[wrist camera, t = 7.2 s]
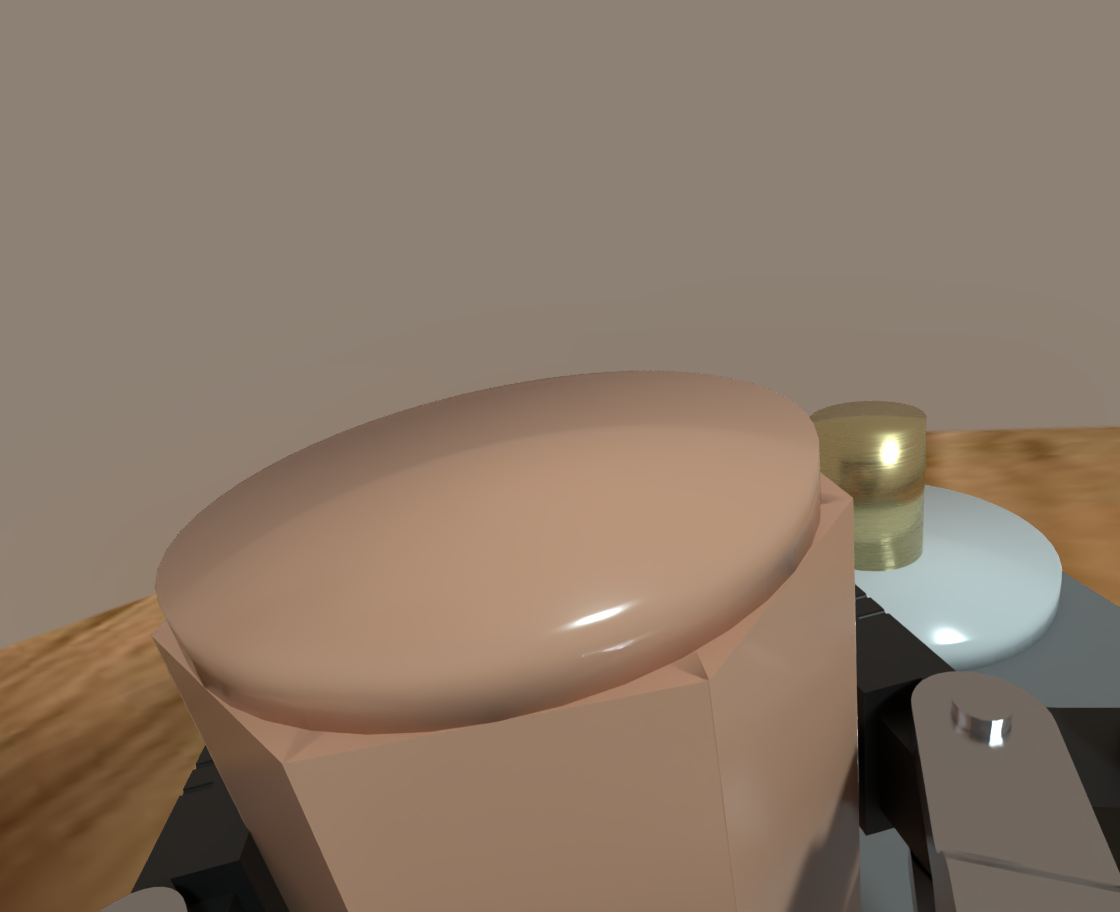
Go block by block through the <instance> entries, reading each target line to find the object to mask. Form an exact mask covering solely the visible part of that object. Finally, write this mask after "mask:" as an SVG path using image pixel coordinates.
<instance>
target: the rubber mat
mask: <svg viewBox="0 0 1120 912" xmlns="http://www.w3.org/2000/svg"><path fill="white" fill-rule="evenodd" d="M963 672H974V673H981V674H985V675H989V676H993V677H996V678H999V679H1002V680H1005V681H1007V682H1009V683H1012V684H1014V685H1016V686H1018V687H1020V688H1022V689H1023V690H1025V691H1027V692H1028V693H1030V694H1031V695H1033V696H1034V697H1035V698H1037V699H1038V700H1039V701H1040V702H1041V703H1042V704H1043V705H1044V706H1045V707H1056V708H1120V607H1118V606H1117V605H1115V604H1113V603H1112V602H1110V601H1109V600H1107V599H1105V598H1104V597H1102V596H1100V595H1099V594H1097V593H1096V592H1094V591H1092V590H1091V589H1089V588H1088V587H1086V586H1084V585H1083V584H1081V583H1080V582H1078V581H1076V580H1075V579H1073V578H1072V577H1070V576H1068V575H1067V574H1065V573H1064V572H1062V581H1061V589H1060V598H1059V606H1058V612H1057V615H1056V618H1055V620H1054V623H1053V625H1052V626H1051V627H1050V629H1049V630H1048V631H1047V633H1046V634H1045V636H1043V637H1042V638H1041V639H1040V640H1039V641H1038V642H1036V643H1035V644H1034V645H1033V646H1032V647H1030V648H1028V649H1027V650H1025V651H1023V652H1021V653H1020V654H1018V655H1016V656H1014V657H1012V658H1009V659H1007V660H1004V661H1001V662H999V663H996V664H994V665H990V666H986V667H982V668H978V669H974V670H970V671H963ZM859 843H860V899H861V912H914V911H913V903H912V894H911V886H910V878H909V870H908V845H907V844H906V843H905V841H904V840H903V839H902V837H901V836H900V835H899V833H898V832H897V831H896V829H895V828H892V829H889V830H885V831H882V832H878V833H875V834H871V835H868V836H866V835H865V834H864V832H863V831H862V829H861V828H860V826H859Z"/></svg>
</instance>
